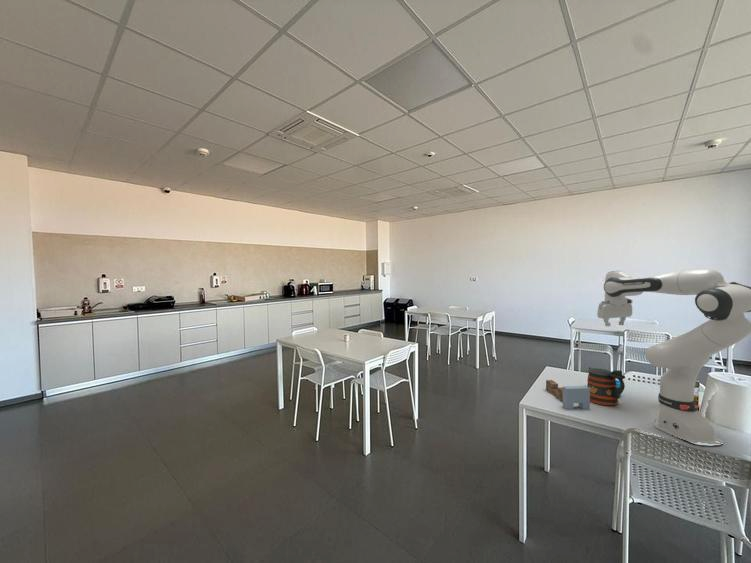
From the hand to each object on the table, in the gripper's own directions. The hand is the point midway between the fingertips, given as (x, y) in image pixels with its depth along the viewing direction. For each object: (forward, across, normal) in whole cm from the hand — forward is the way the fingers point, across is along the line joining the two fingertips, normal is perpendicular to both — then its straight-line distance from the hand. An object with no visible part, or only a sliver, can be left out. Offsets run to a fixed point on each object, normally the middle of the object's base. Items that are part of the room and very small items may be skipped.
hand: (614, 325), depth 167 cm
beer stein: (+42, -6, 0) cm, 42 cm away
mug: (+42, +8, +7) cm, 43 cm away
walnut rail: (+42, -24, +14) cm, 50 cm away
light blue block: (+42, -27, -1) cm, 50 cm away
